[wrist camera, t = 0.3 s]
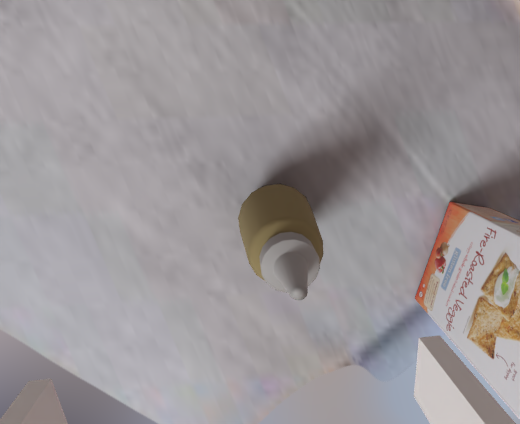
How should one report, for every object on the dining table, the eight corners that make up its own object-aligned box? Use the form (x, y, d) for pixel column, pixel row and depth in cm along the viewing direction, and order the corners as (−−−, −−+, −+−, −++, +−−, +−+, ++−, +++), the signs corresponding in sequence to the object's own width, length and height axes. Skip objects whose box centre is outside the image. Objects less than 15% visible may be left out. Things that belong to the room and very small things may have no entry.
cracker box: (444, 200, 40) (649, 295, 20) (490, 206, 40) (730, 305, 21) (410, 299, 44) (550, 459, 24) (451, 304, 45) (621, 463, 25)
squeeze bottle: (313, 230, 40) (368, 323, 23) (250, 249, 40) (258, 356, 23) (296, 167, 37) (344, 220, 20) (228, 188, 38) (221, 258, 21)
